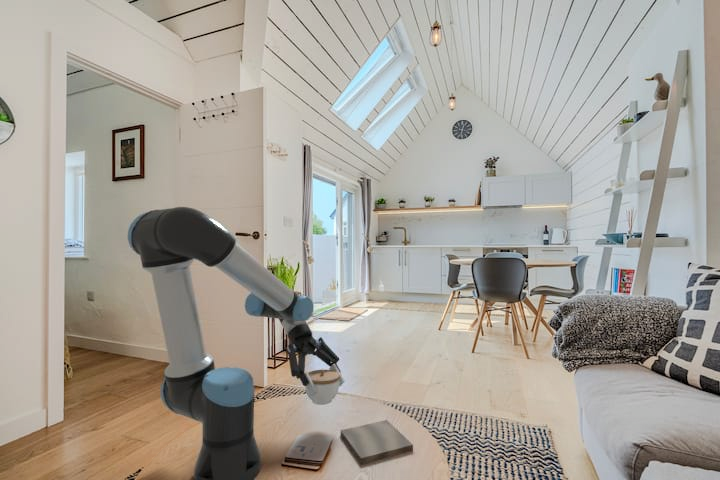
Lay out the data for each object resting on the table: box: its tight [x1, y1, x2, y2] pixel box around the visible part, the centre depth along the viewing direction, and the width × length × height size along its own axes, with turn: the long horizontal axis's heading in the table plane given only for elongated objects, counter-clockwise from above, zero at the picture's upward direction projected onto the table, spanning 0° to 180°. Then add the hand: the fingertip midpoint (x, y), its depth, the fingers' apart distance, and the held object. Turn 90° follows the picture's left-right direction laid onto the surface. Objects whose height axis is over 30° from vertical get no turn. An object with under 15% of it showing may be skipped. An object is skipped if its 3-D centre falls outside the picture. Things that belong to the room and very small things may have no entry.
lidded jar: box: [304, 368, 340, 406], centre depth 106 cm, size 11×11×9 cm
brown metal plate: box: [340, 419, 414, 465], centre depth 96 cm, size 15×15×2 cm
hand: (328, 388), depth 105 cm, fingers closed on lidded jar, 11 cm apart
